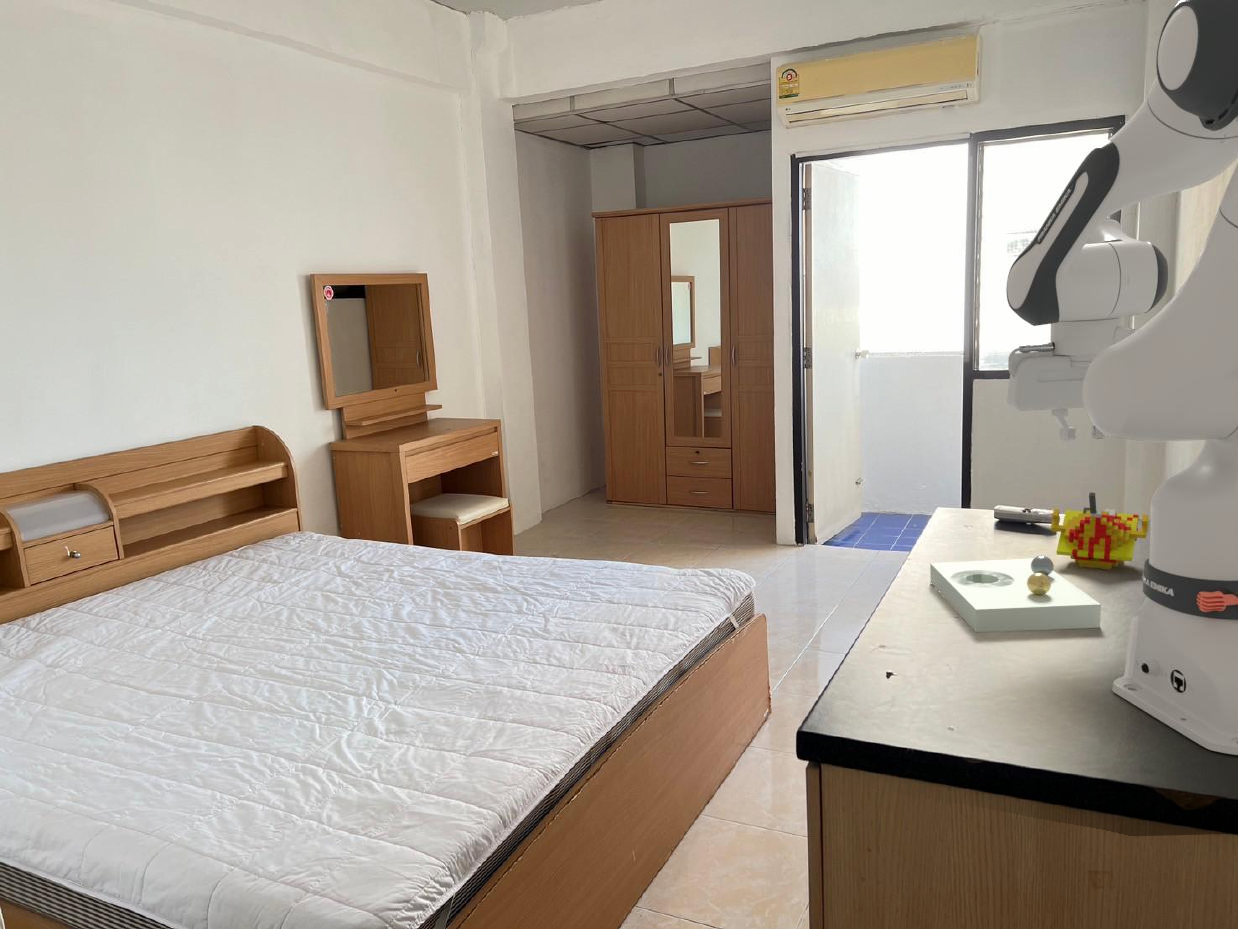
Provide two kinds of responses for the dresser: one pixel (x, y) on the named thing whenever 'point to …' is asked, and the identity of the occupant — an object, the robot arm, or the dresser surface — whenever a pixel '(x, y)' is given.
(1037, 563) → the ball
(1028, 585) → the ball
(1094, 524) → the toy
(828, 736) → the dresser surface
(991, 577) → the board
